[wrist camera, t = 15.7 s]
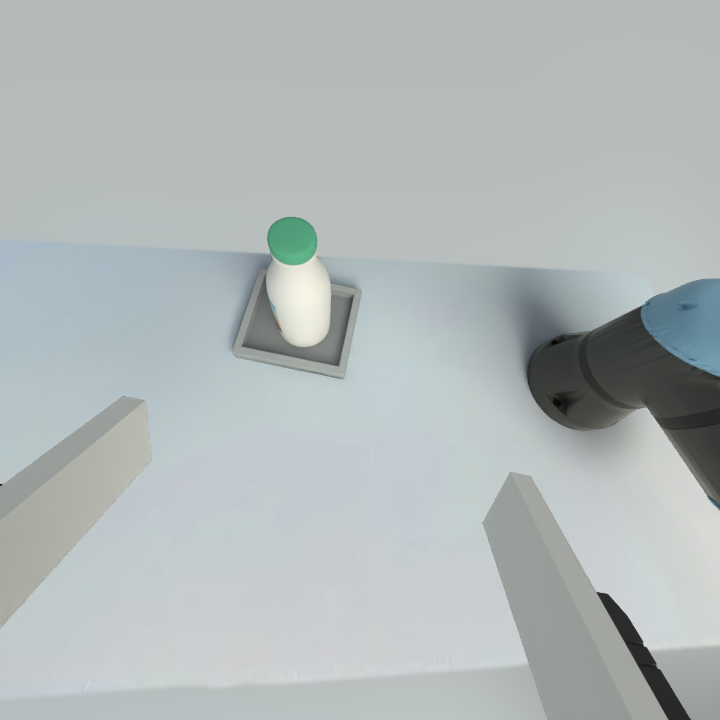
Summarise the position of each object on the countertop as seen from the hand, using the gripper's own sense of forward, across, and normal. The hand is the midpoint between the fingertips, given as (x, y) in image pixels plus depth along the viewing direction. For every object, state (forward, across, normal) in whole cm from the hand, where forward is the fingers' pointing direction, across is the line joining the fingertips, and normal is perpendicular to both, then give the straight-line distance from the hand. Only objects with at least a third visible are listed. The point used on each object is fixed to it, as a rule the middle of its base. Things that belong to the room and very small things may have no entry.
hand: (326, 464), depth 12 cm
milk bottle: (+37, -8, -9) cm, 39 cm away
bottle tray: (+38, -8, -10) cm, 40 cm away
